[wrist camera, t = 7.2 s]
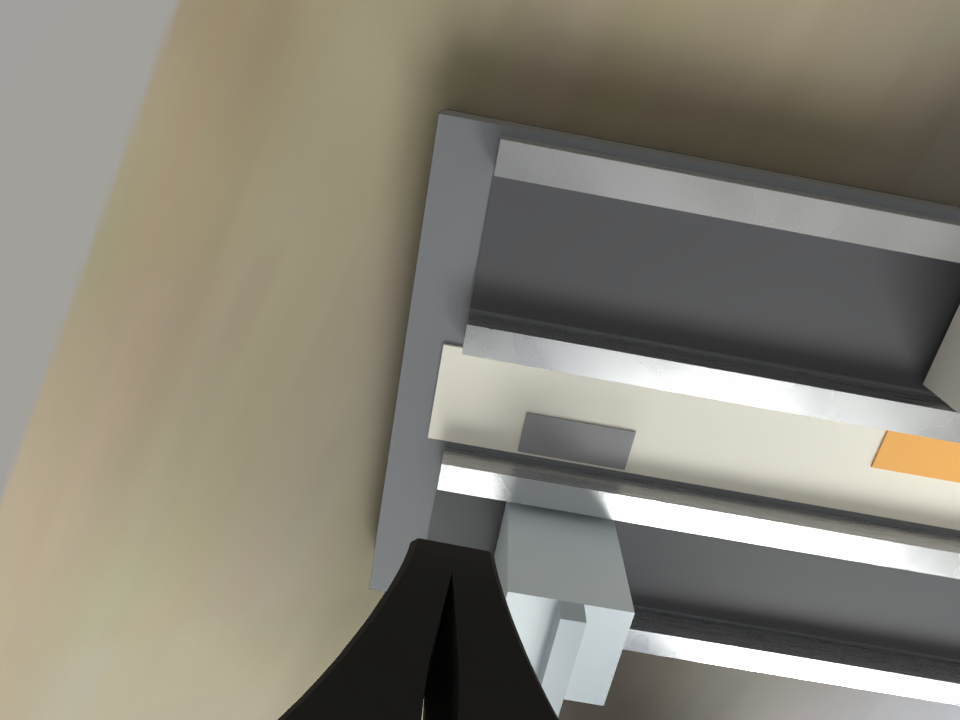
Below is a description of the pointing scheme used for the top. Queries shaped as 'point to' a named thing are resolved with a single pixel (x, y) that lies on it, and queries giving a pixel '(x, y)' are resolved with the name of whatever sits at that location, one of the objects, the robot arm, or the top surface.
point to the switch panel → (692, 396)
